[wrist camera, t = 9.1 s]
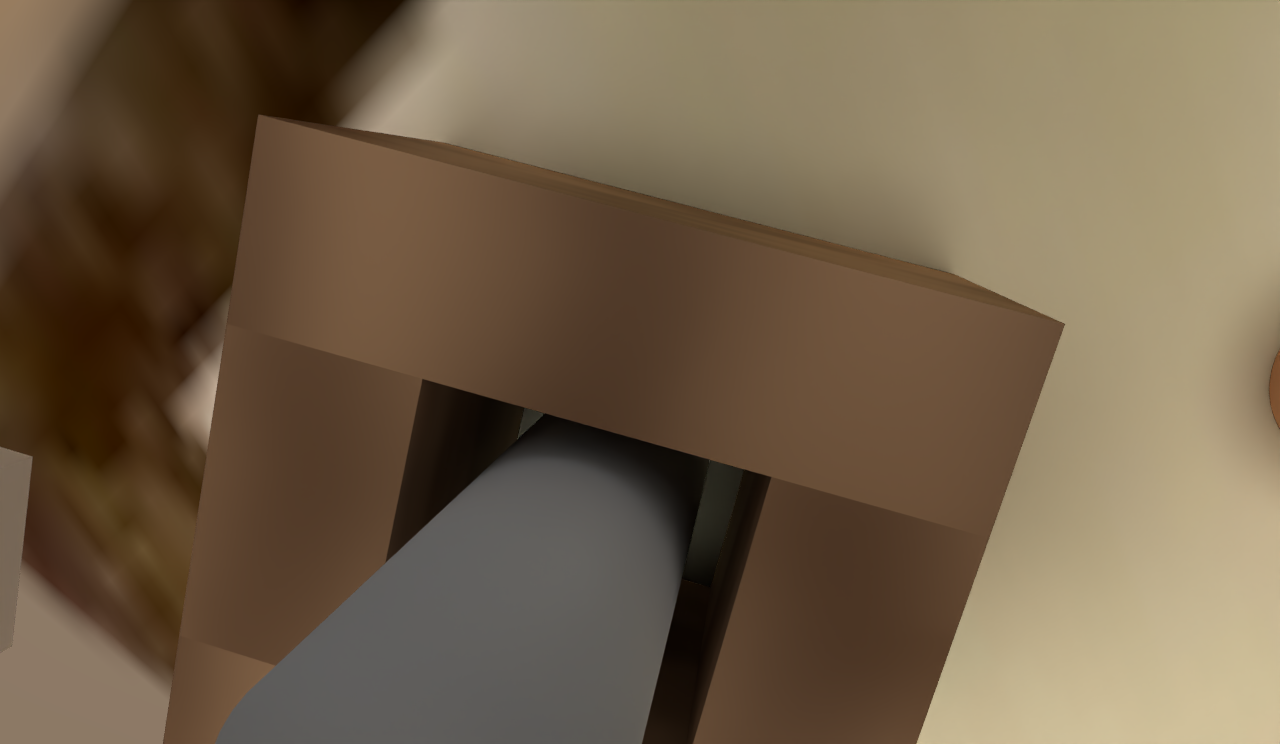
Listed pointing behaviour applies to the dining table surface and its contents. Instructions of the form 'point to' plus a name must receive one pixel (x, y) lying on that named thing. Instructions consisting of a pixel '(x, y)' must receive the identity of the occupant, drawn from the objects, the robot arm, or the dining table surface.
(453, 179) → the hole block
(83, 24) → the dining table surface
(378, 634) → the long dowel
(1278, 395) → the short dowel
